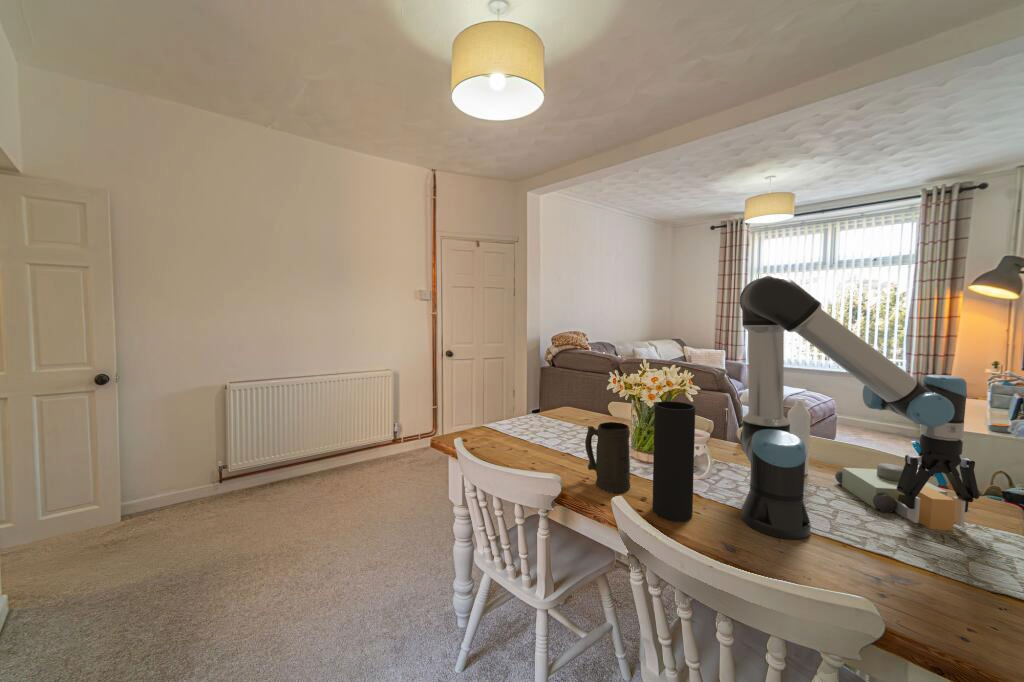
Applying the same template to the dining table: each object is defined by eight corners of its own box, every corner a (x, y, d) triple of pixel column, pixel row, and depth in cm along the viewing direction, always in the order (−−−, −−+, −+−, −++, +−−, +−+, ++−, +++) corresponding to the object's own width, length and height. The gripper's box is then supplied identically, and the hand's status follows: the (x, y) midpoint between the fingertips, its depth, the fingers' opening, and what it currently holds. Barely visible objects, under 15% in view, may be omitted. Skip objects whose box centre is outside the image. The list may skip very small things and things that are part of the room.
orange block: (930, 529, 104) (932, 498, 103) (905, 514, 111) (907, 485, 111) (952, 531, 103) (955, 500, 102) (926, 515, 111) (928, 486, 110)
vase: (656, 500, 120) (658, 399, 118) (694, 509, 115) (697, 403, 112) (649, 516, 111) (651, 407, 109) (689, 525, 106) (692, 411, 104)
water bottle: (807, 476, 136) (810, 403, 135) (784, 472, 140) (787, 400, 139) (809, 469, 143) (812, 398, 141) (787, 464, 147) (790, 396, 145)
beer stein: (637, 484, 131) (633, 422, 131) (627, 496, 122) (623, 430, 122) (591, 477, 140) (588, 419, 139) (579, 488, 131) (575, 426, 130)
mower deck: (884, 517, 110) (886, 484, 109) (834, 483, 131) (836, 455, 131) (966, 522, 107) (968, 489, 106) (901, 487, 128) (902, 459, 128)
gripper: (902, 438, 102) (897, 525, 103) (1007, 443, 98) (999, 533, 100) (881, 430, 109) (876, 511, 111) (977, 433, 105) (971, 518, 107)
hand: (934, 521), depth 105 cm, fingers open, 9 cm apart
